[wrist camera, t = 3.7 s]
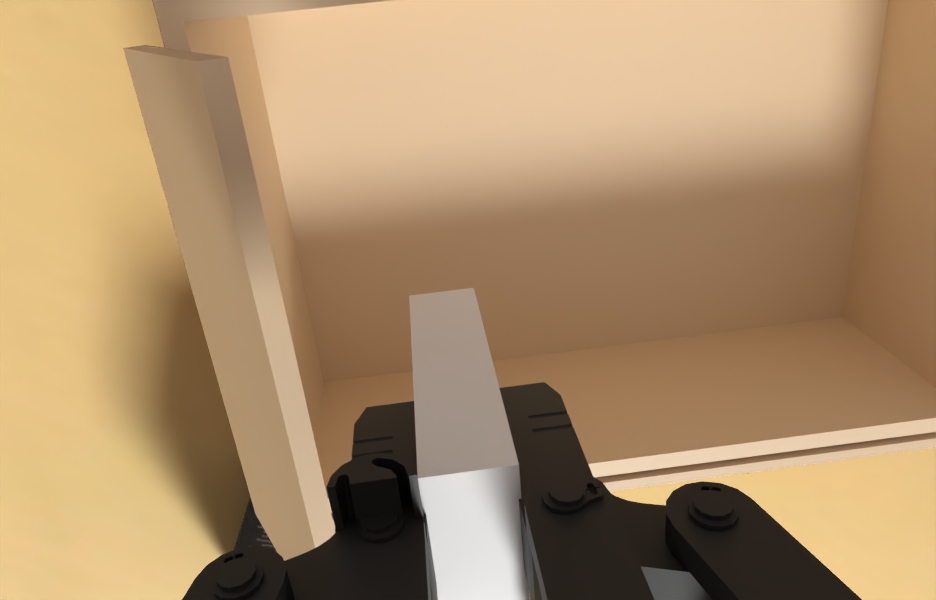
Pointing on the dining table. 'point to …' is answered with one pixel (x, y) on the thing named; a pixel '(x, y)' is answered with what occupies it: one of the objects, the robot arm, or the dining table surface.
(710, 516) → the robot arm
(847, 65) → the carton
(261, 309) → the flap
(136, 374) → the dining table surface
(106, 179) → the dining table surface
